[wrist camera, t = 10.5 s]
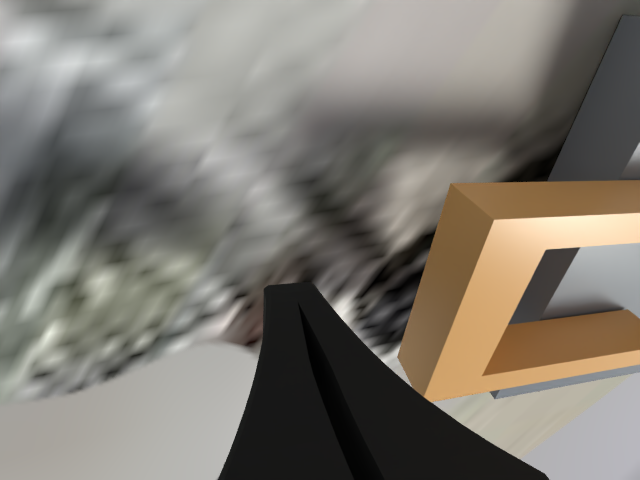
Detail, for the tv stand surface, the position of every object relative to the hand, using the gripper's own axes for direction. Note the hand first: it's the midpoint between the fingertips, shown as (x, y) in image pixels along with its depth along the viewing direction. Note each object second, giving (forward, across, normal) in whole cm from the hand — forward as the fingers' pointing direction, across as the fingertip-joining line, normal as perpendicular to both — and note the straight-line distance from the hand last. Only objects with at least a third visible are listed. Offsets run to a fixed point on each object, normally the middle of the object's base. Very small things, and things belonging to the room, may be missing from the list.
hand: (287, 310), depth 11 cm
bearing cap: (+1, -10, 0) cm, 10 cm away
